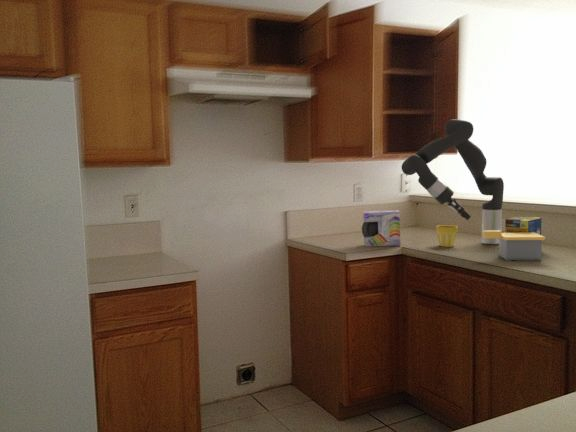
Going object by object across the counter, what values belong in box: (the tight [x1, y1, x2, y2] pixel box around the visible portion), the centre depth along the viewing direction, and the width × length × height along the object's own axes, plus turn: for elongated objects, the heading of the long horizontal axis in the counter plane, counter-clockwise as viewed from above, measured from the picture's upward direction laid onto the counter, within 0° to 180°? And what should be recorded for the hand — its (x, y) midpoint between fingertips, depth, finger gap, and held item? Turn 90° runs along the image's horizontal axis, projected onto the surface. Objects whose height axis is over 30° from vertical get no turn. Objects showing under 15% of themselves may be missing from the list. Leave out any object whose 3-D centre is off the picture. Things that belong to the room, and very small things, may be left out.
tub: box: [498, 238, 543, 261], centre depth 236 cm, size 12×14×9 cm
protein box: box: [504, 215, 542, 235], centre depth 251 cm, size 10×15×16 cm
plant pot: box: [435, 224, 459, 248], centre depth 273 cm, size 10×10×10 cm
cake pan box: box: [361, 209, 402, 247], centre depth 278 cm, size 19×5×18 cm, turn 82°
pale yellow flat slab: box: [483, 230, 546, 241], centre depth 236 cm, size 14×23×3 cm, turn 83°
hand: (467, 217), depth 238 cm, fingers open, 8 cm apart
